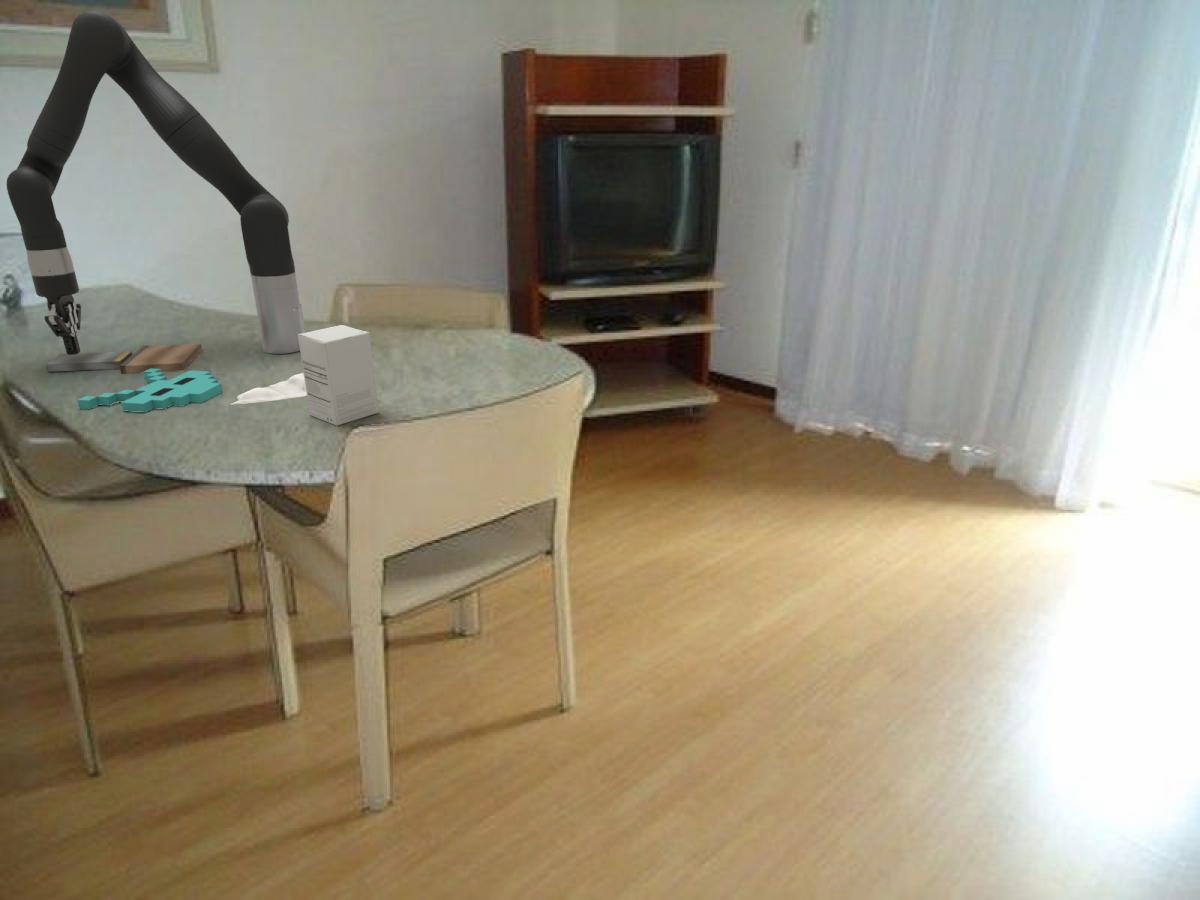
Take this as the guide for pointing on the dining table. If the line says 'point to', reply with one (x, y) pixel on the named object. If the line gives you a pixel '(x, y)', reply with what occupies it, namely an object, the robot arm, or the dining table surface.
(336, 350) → the supplement box
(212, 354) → the dining table surface
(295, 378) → the cloth
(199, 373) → the alien figure
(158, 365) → the laid floor board
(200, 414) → the dining table surface
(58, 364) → the grey flat plate
